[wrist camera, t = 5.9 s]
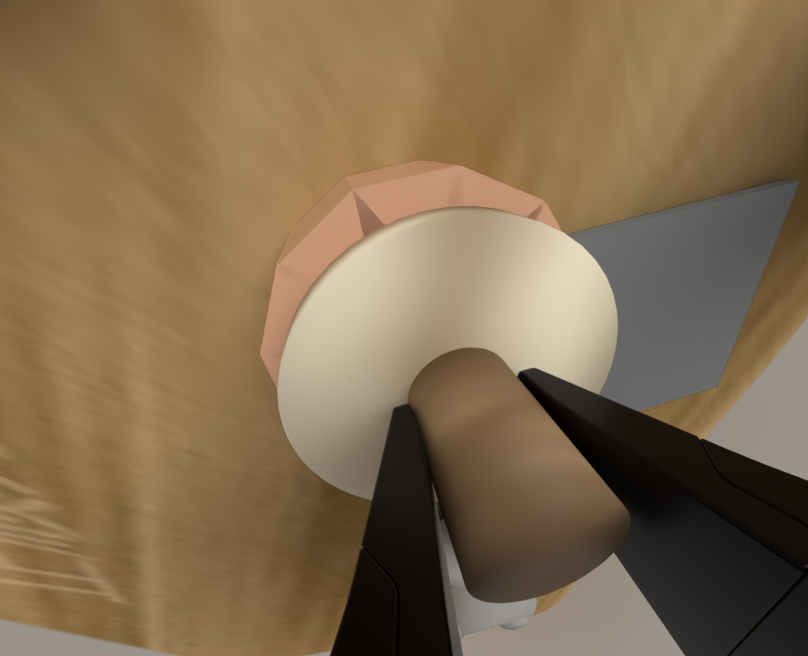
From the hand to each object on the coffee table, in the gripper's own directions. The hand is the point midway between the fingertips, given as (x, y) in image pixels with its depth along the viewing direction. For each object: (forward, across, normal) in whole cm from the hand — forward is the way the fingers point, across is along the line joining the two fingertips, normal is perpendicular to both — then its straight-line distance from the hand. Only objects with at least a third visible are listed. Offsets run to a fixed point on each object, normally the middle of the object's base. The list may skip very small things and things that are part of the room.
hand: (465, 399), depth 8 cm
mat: (+7, -12, +5) cm, 15 cm away
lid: (+1, 0, 0) cm, 1 cm away
